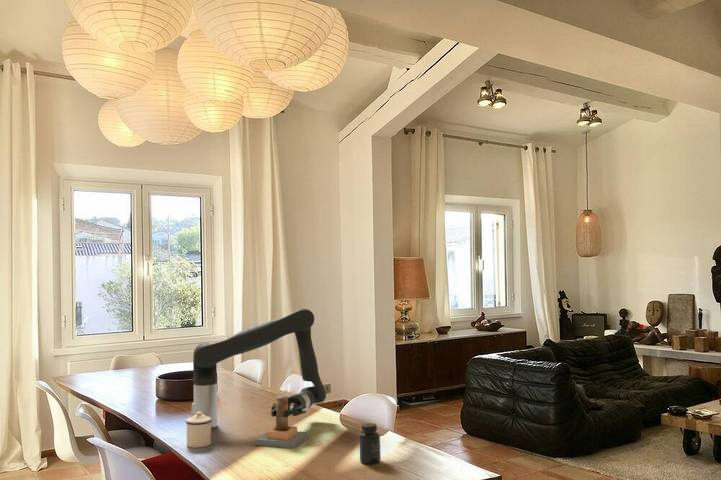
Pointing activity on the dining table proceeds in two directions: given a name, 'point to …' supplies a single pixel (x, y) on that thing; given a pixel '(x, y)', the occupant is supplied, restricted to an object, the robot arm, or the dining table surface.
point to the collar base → (282, 438)
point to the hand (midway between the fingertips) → (278, 414)
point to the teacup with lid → (198, 430)
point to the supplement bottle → (369, 444)
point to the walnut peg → (281, 413)
